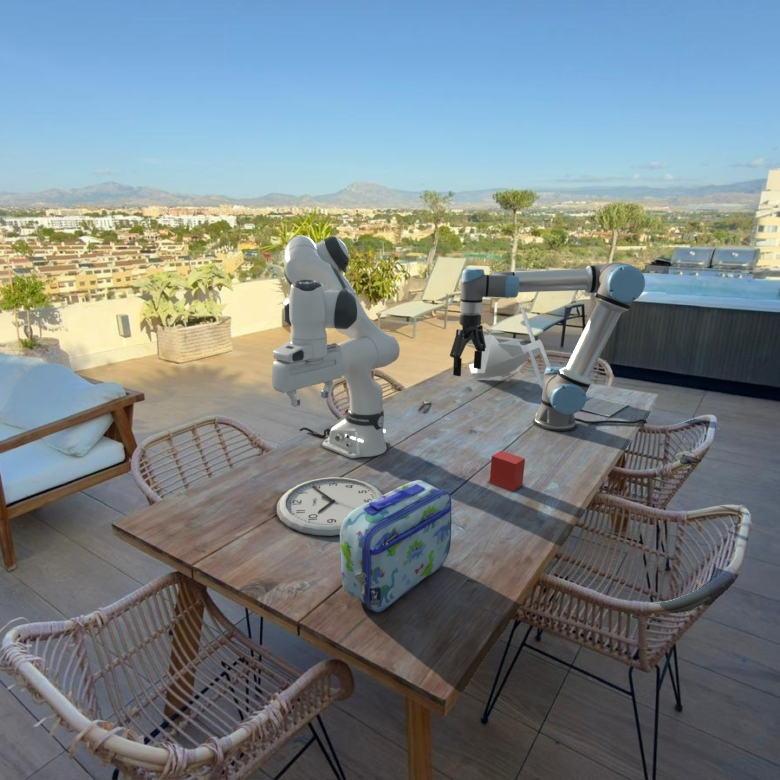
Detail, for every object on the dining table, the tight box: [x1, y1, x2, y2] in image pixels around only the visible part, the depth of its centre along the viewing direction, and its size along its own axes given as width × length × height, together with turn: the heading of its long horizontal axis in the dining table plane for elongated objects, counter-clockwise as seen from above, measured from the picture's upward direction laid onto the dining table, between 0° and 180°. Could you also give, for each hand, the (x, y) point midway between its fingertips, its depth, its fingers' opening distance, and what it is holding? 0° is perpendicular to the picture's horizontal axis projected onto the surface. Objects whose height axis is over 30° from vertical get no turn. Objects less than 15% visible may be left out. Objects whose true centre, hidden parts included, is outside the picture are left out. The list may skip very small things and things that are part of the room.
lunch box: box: [339, 479, 452, 613], centre depth 109 cm, size 26×11×21 cm, turn 134°
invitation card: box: [580, 396, 629, 418], centre depth 226 cm, size 21×1×15 cm
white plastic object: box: [468, 307, 552, 391], centre depth 255 cm, size 37×45×31 cm
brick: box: [489, 450, 526, 492], centre depth 155 cm, size 5×8×9 cm
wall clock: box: [276, 476, 385, 537], centre depth 142 cm, size 30×2×30 cm
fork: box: [418, 396, 432, 411], centre depth 223 cm, size 3×16×2 cm, turn 160°
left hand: (310, 401), depth 132 cm, fingers open, 8 cm apart
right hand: (467, 372), depth 190 cm, fingers open, 13 cm apart
